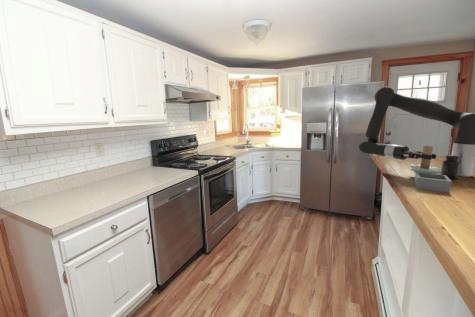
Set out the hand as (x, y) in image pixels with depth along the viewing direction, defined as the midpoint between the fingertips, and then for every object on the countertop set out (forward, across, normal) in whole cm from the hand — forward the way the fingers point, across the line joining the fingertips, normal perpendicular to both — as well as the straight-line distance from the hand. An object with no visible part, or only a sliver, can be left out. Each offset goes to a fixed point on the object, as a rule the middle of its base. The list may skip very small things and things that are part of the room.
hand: (433, 157), depth 112 cm
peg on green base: (-3, 0, +8) cm, 8 cm away
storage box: (+6, -13, +12) cm, 19 cm away
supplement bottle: (+1, +16, +13) cm, 20 cm away
